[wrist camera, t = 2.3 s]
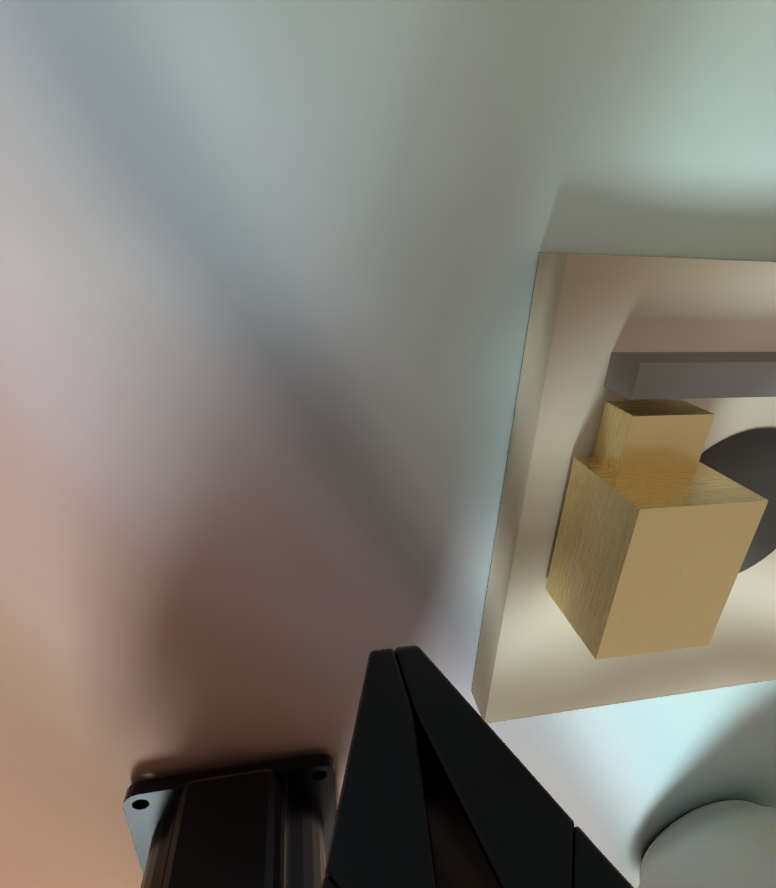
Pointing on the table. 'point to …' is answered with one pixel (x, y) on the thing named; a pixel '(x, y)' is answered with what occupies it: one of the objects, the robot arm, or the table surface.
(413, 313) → the table surface
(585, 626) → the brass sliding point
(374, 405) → the table surface
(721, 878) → the grey rounded container
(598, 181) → the table surface
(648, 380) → the plate
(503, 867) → the robot arm
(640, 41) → the table surface
